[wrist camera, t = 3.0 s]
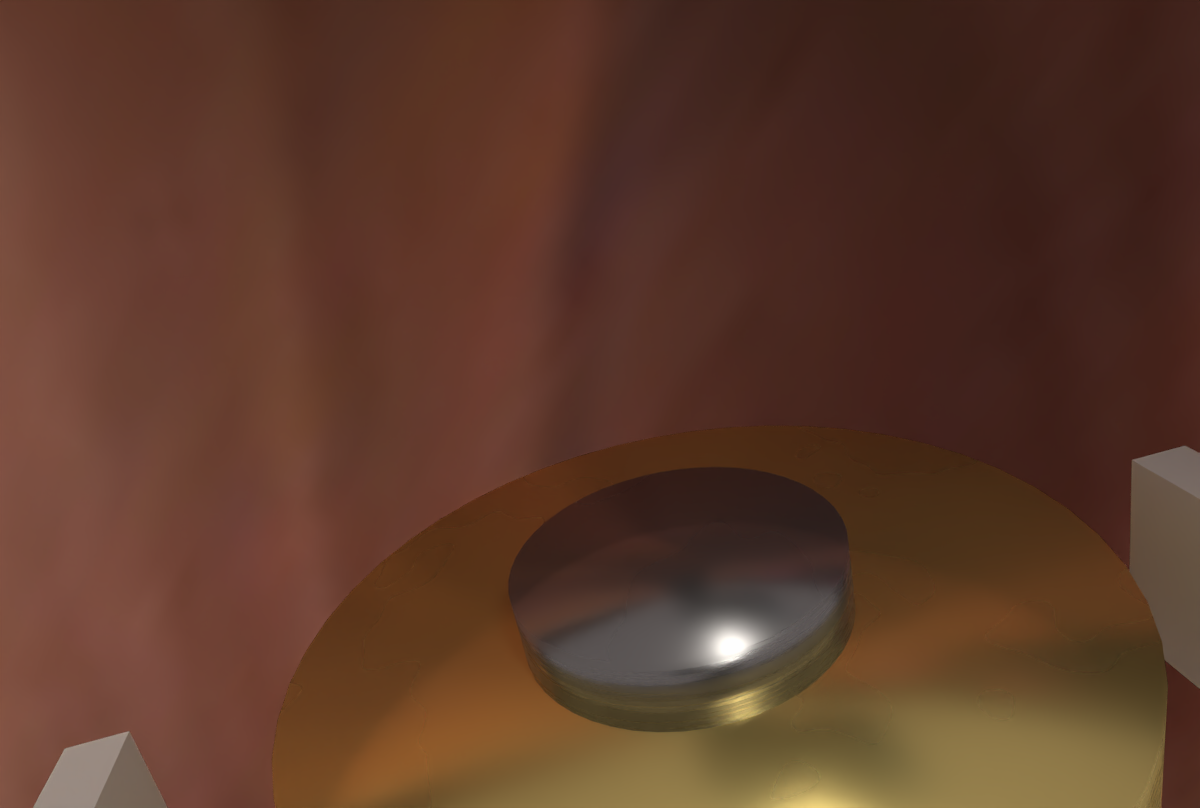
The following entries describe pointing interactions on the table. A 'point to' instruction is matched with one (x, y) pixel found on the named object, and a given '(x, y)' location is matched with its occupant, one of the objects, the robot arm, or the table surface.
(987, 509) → the gold disc on rod
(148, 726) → the table surface
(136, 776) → the robot arm
